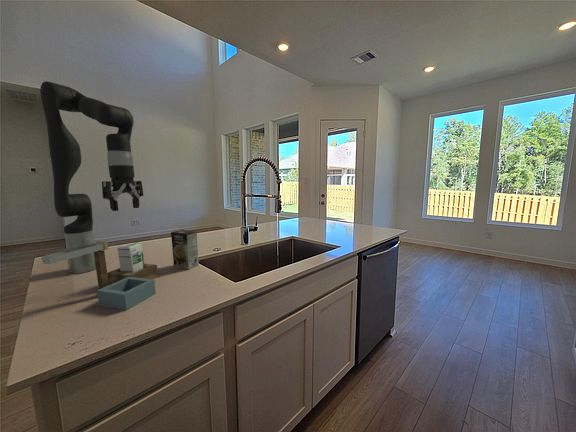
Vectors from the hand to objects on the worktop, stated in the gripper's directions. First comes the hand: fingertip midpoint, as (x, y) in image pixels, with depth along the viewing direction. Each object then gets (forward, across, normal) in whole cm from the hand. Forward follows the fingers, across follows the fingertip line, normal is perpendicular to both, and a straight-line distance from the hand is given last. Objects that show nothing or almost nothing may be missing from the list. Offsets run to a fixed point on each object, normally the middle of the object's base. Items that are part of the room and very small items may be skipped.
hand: (126, 209), depth 89 cm
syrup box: (+28, 0, 0) cm, 28 cm away
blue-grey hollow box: (+28, +12, +11) cm, 32 cm away
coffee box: (+28, -19, +9) cm, 35 cm away
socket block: (+28, +3, 0) cm, 28 cm away
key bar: (+12, +18, 0) cm, 22 cm away
